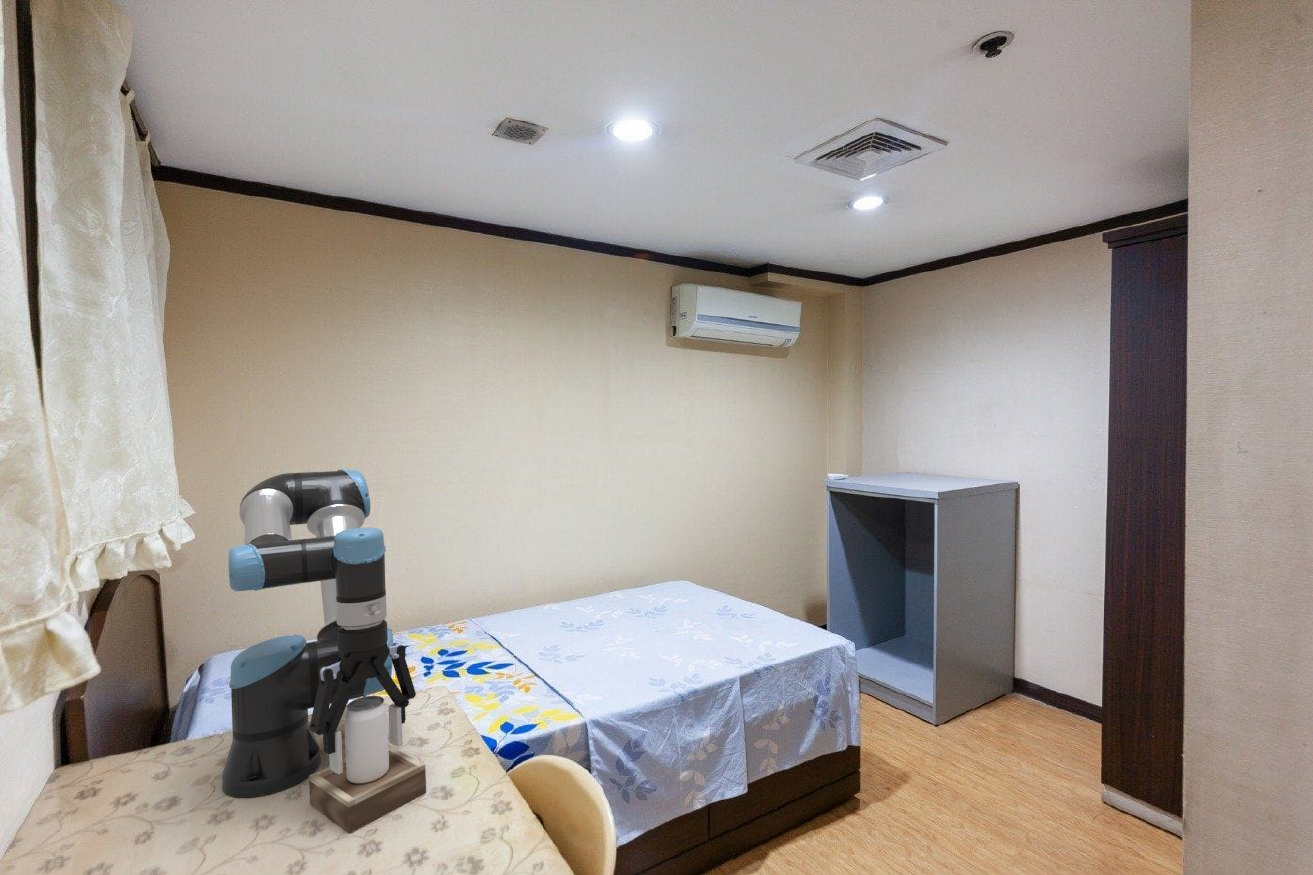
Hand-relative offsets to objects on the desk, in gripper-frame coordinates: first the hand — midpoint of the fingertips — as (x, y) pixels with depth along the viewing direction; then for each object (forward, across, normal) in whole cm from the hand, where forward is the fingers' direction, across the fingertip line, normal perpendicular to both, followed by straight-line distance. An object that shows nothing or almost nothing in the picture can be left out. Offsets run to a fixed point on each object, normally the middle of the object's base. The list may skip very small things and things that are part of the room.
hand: (367, 756), depth 105 cm
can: (+3, 0, 0) cm, 3 cm away
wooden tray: (+7, 0, 0) cm, 7 cm away
